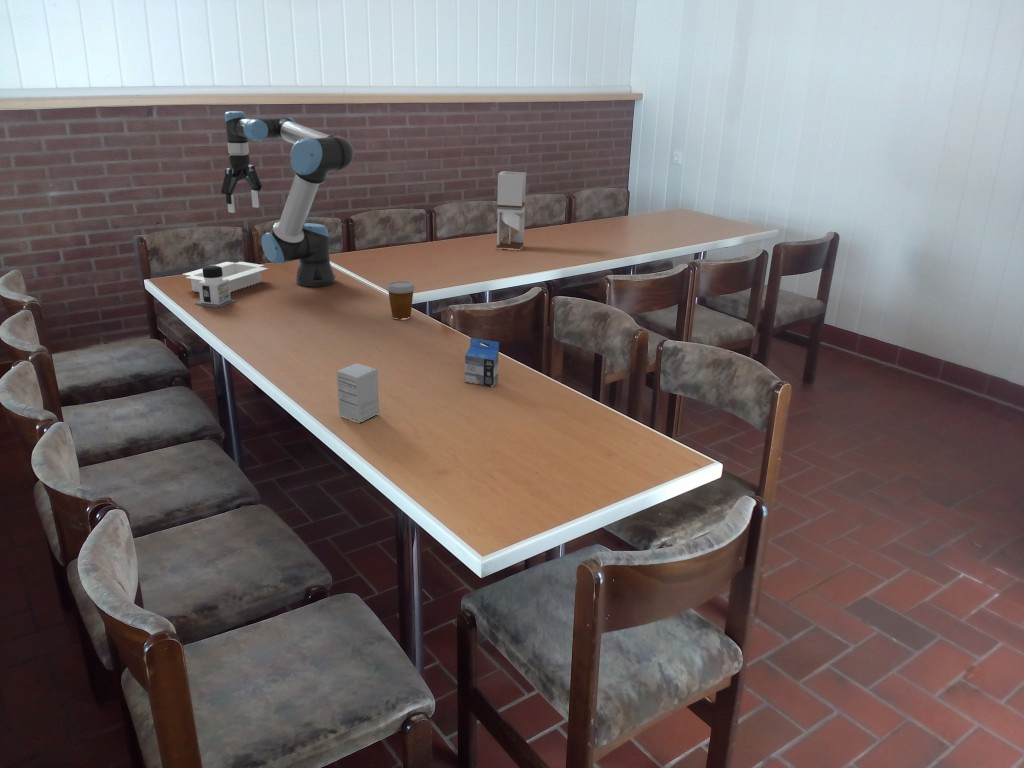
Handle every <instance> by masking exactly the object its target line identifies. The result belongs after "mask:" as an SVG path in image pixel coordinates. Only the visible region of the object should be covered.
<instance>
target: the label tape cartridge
mask: <svg viewBox="0 0 1024 768" xmlns="http://www.w3.org/2000/svg"><path fill="white" fill-rule="evenodd" d="M484 344H485V345H484ZM486 345H489V346H486ZM499 347H500V343H499V341H494V340H493V341H492V340H488V339H487V340H486V339H481V338H474V337H470V346H469V347H468V350H467V352H466V353H465V356H464V357H465V358H464V382H465V381H467V382H472V383H477V384H481V385H480V386H483V385H486V386H485V387H489V386H491V387H490V388H494V387H495V386H497V385H498V383H499V353H500V351H499V350H500V348H499ZM477 384H476V385H477Z"/></svg>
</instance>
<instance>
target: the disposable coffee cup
mask: <svg viewBox="0 0 1024 768" xmlns="http://www.w3.org/2000/svg"><path fill="white" fill-rule="evenodd" d="M386 290H387V292H388V298H389V304H390V311H391V317H394V318H398V319H402V318H408V317H410V316H412V315H411V314H412V307H413V299H414V298H413V297H414V291H415V286H414V283H413V282H411V281H406V280H396V281H395V280H394V281H390V282H389V283H388V284H387V286H386Z"/></svg>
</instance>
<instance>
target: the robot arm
mask: <svg viewBox="0 0 1024 768" xmlns="http://www.w3.org/2000/svg"><path fill="white" fill-rule="evenodd" d="M224 120H225V121H224V124H225V126H224V127H225V135H226V142H227V150H228V152H227V153H229V155H228V162H229V163H228V164H229V165H230V166H231V168H229V167H228V168H225V169H224V179H223V183H222V186H221V190H220V193H221V194H222V195H223V196H225V201H226V205H227V212H228V213H232V214H234V213H236V209H235V198H234V197H235V196H234V194H233V193H234V190H235V188H236V185H237V184H238V182H239V181H240V180H243V179H244V180H245V181H246V183H248V185H249V186H250V188H251V189H252V190H251V191H250V192H251V203H252V208H256V209H257V208H260V201H259V199H260V195H259V193H260V192H259V191H261V189H262V188H263V185H262V183H261V181H260V177H259V176H258V174H257V171H256V167H255V165H253V164H250V163H251V162H250V161H251V160H250V155H249V153H250V148H249V140H250V141H253V142H258V141H259V142H262V141H263V140H274V139H279V140H282V141H284V142H285V141H286V142H288V143H291V144H292V147H291V150H290V154H289V157H290V160H289V161H290V165H291V168H292V169H293V173H294V174H295V175H294V178H293V181H292V184H291V187H290V190H289V193H288V196H287V198H286V202H285V205H284V206H283V207H284V208H283V210H282V213H281V217H280V219H279V220H278V221H276V222H275V223H273V226H272V230H271V231H270V232H265V233H263V235H262V237H261V246H262V247H261V248H262V251H263V253H264V255H265V257H266V258H267V260H268V261H269V262H270V263H272V264H284V263H288V262H289V263H290V262H293V261H297V260H299V266H298V267H297V273H296V276H295V281H296V284H297V285H298V284H299V286H301V285H302V287H307V286H309V287H308V288H320V287H326V286H331V285H334V284H335V283H336V276H335V273H334V270H333V267H332V265H331V260H330V259H331V258H330V241H329V238H330V235H329V230H328V227H327V226H325V225H324V224H319V223H312V222H306V220H307V218H308V215H309V212H310V211H311V207H312V204H313V201H314V200H315V196H316V194H317V191H318V189H319V186H320V185H321V184H324V183H325V182H326V180H327V178H328V174H329V173H333V172H340V171H343V170H345V169H347V168H349V166H350V165H351V164H352V162H353V161H354V157H355V151H354V147H353V145H352V143H351V141H349V140H348V139H347V138H345V137H343V136H340V135H338V134H334V133H332V134H326V133H324V132H320V131H318V130H315V129H313V128H311V127H307V126H304V125H303V124H300V123H297V121H295V118H293V117H286V116H282V117H265V118H264V117H261V118H247V116H246V113H245V112H244V111H240V110H239V111H238V110H236V111H235V110H233V111H231V110H230V111H225V113H224Z"/></svg>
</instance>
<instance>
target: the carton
mask: <svg viewBox="0 0 1024 768" xmlns="http://www.w3.org/2000/svg"><path fill="white" fill-rule="evenodd" d="M215 265H218V266H221V267H222V274H223V278H222V279H229V286H230V293H233V292H236V291H238V289H239V290H241V288H242V289H245V288H247V286H248V287H251V286H254V285H257V284H259V282H260V283H262V282H263V281H262V272H263V271H267V270H269V267H268V268H267V267H265V265H264V264H258V263H252V262H245V261H238V262H233V261H231V262H230V261H225V262H224V261H223V262H221V263H217V264H215ZM182 276H186V277H185V279H187V280H189V279H190V283H191V284H190V285H191V291H192V292H195V293H199V285H198V283H199V282H201V281H203V280H205V279H204V278H203V267H202V268H200V269H196V270H193V271H189V272H185V273H182ZM256 283H257V284H256ZM253 284H254V285H253ZM250 285H251V286H250ZM244 287H245V288H244ZM235 290H236V291H235ZM232 291H233V292H232Z"/></svg>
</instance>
